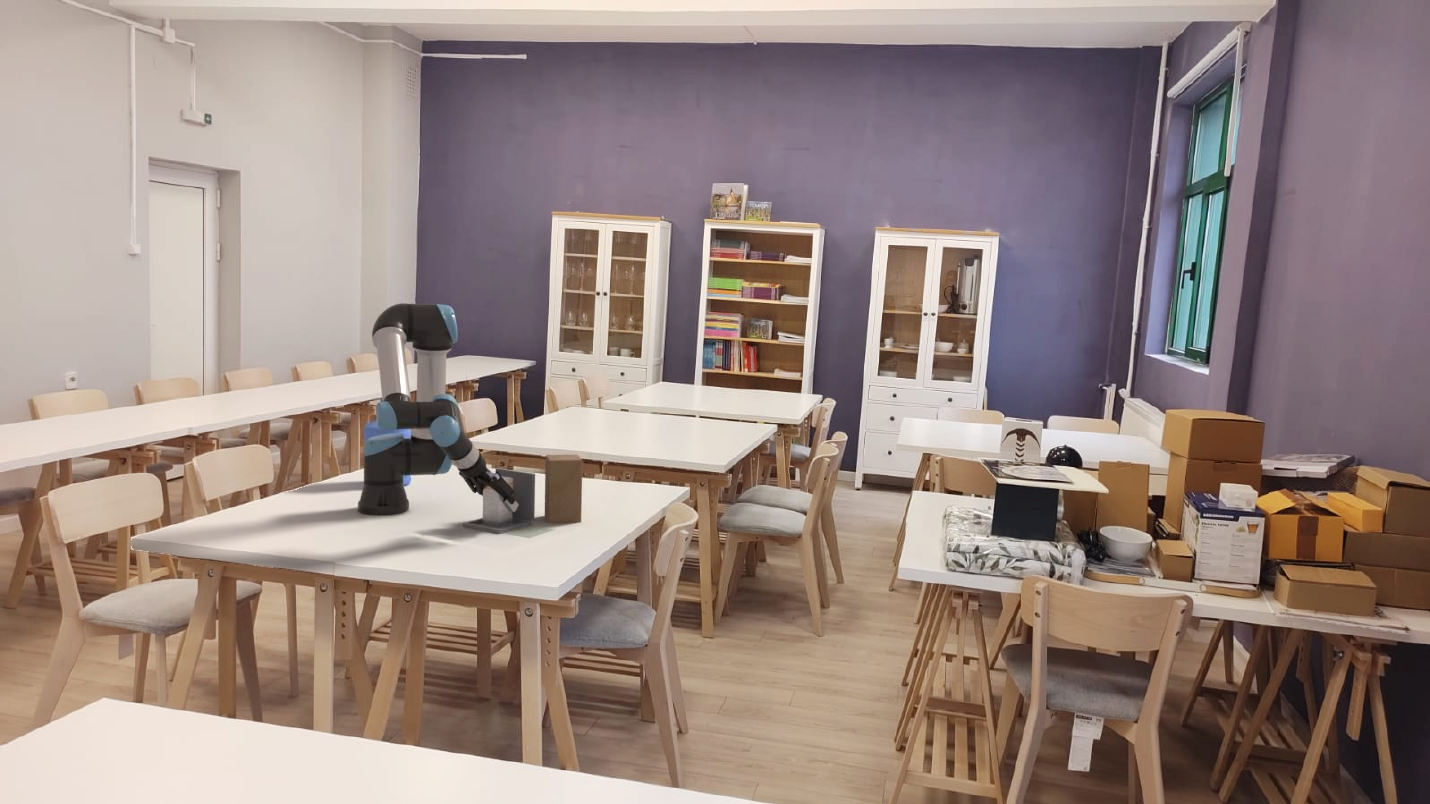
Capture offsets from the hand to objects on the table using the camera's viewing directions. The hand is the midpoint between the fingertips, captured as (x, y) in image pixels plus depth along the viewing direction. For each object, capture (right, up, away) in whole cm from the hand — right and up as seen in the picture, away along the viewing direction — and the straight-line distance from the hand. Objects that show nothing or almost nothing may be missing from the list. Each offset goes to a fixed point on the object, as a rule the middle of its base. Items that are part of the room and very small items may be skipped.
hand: (505, 506), depth 292 cm
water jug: (-53, +2, +56) cm, 77 cm away
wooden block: (+15, -6, +9) cm, 19 cm away
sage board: (+9, -7, -8) cm, 14 cm away
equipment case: (-2, -6, -2) cm, 7 cm away
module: (-2, -5, -3) cm, 6 cm away
